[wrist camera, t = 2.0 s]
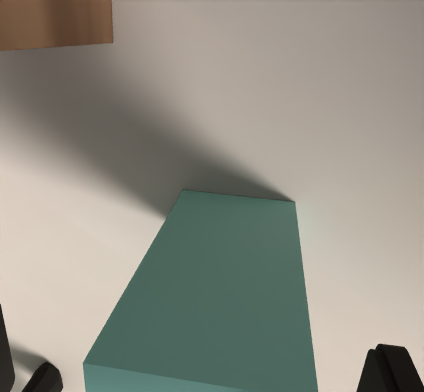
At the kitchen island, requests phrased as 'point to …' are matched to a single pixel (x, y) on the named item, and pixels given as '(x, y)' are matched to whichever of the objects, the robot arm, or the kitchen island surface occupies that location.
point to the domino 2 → (212, 305)
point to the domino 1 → (54, 23)
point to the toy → (45, 380)
